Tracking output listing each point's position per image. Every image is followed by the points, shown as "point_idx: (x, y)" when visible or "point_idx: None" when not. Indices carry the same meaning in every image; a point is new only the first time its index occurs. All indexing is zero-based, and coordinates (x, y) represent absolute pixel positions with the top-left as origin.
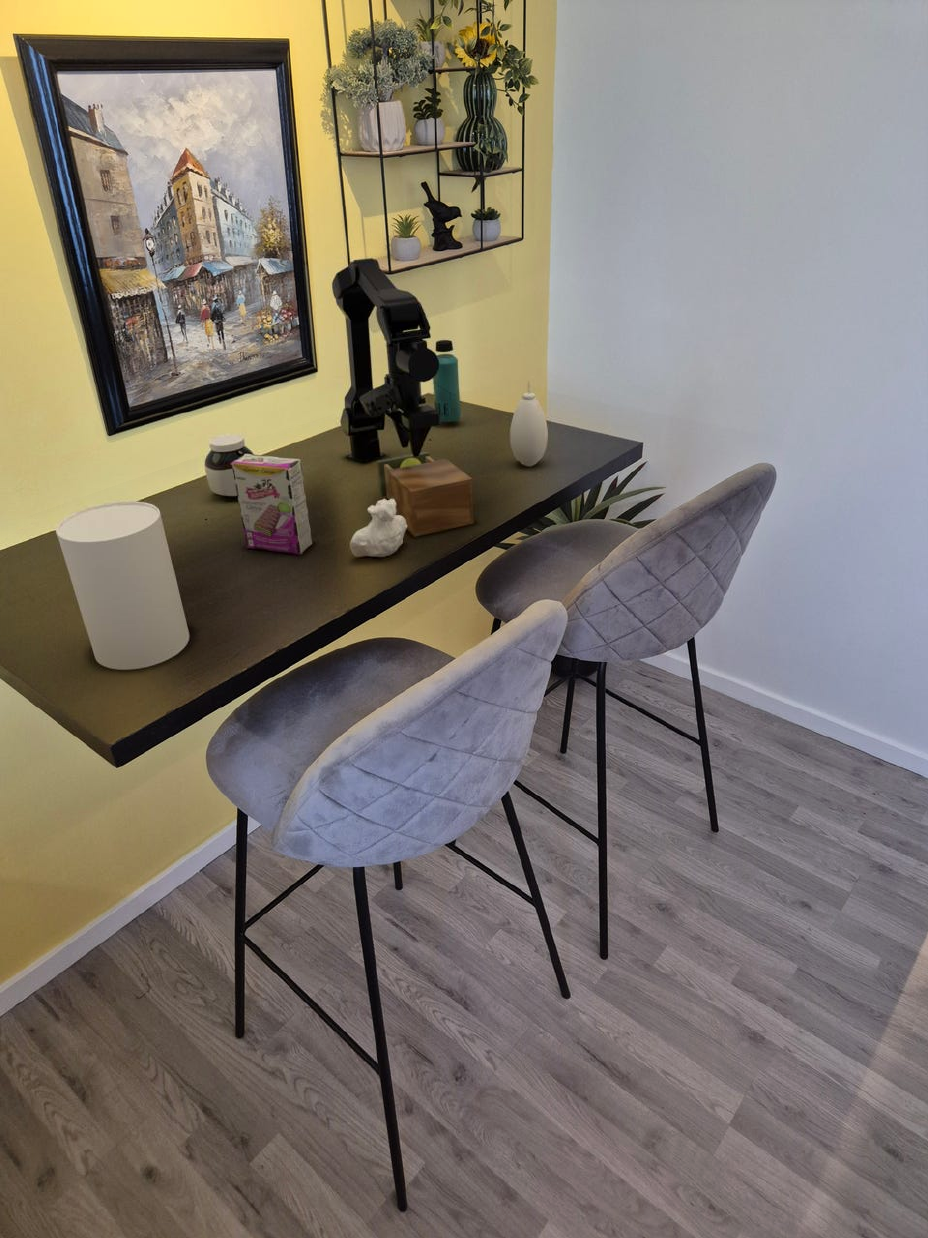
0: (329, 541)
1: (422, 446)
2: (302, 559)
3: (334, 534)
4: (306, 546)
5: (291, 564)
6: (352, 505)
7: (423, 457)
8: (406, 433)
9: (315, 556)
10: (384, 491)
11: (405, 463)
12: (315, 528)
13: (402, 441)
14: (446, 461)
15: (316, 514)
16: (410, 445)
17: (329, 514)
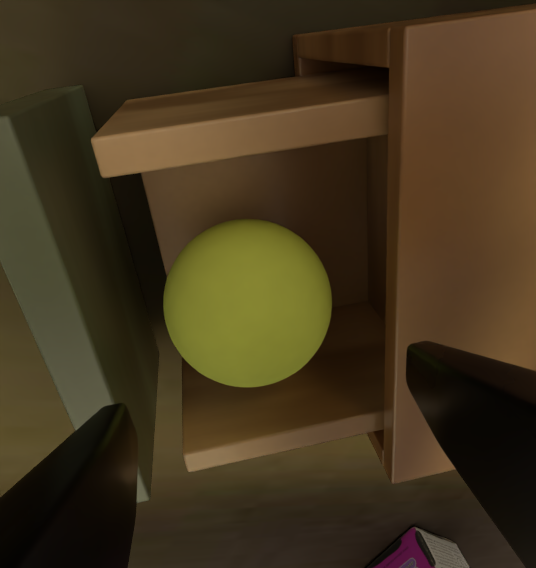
0: (417, 492)
1: (519, 367)
2: (477, 535)
3: (380, 483)
4: (439, 541)
5: (486, 550)
6: (166, 440)
7: (47, 180)
8: (97, 536)
9: (480, 514)
10: (154, 357)
11: (286, 375)
12: (312, 524)
13: (132, 493)
14: (476, 48)
15: (206, 528)
16: (474, 486)
17: (222, 499)
